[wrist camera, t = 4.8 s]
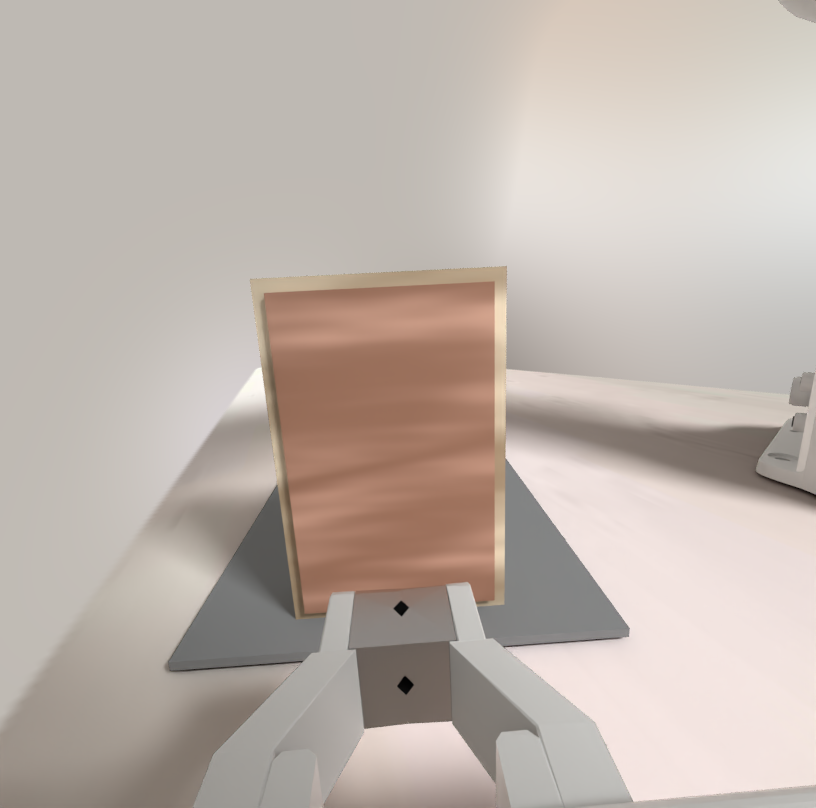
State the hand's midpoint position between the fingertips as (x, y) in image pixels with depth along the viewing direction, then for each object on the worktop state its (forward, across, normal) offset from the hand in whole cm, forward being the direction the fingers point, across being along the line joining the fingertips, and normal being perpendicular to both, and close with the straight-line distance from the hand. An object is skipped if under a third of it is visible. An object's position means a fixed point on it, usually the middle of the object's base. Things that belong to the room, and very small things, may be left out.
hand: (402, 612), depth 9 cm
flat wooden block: (+9, 0, +6) cm, 11 cm away
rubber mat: (+17, 0, +7) cm, 18 cm away
